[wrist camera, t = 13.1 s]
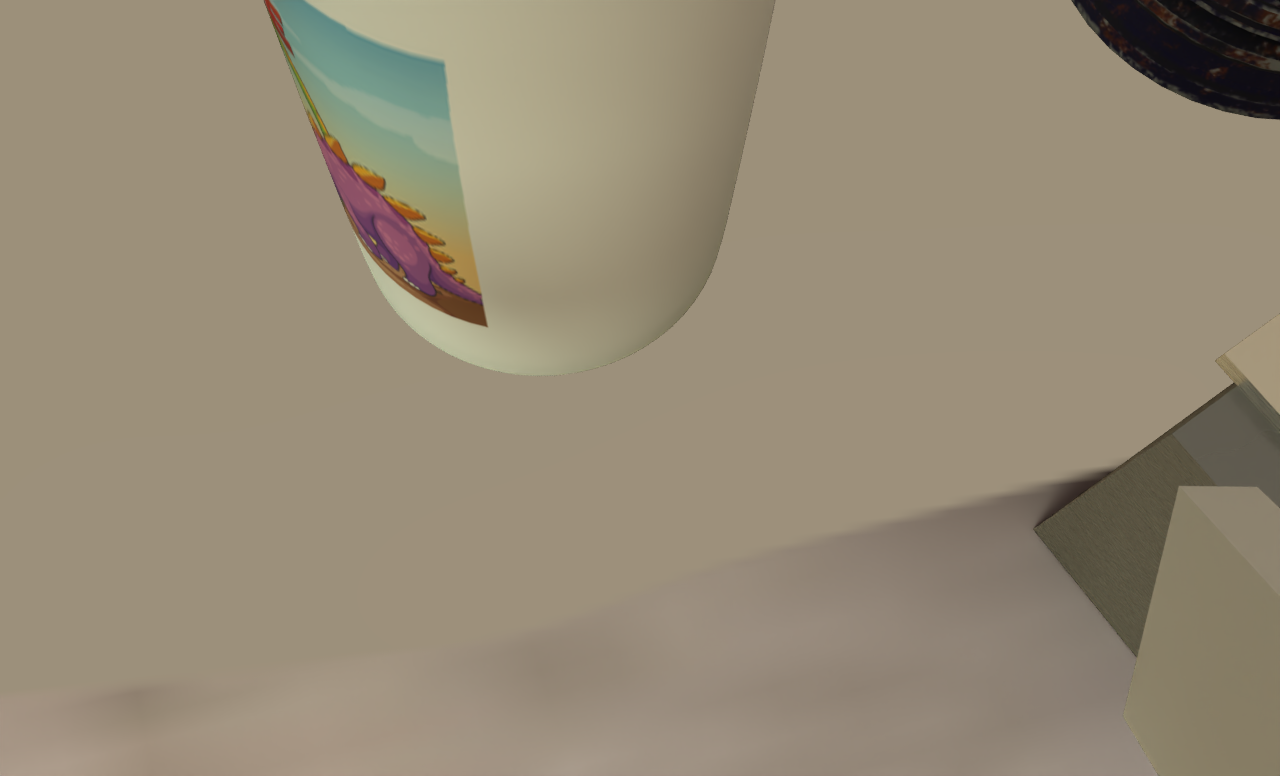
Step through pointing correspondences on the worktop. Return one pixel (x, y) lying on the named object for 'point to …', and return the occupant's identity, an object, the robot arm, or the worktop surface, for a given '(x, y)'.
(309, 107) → the milk bottle
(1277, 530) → the robot arm
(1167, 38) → the storage jar
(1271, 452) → the drawer cabinet
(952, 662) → the worktop surface
